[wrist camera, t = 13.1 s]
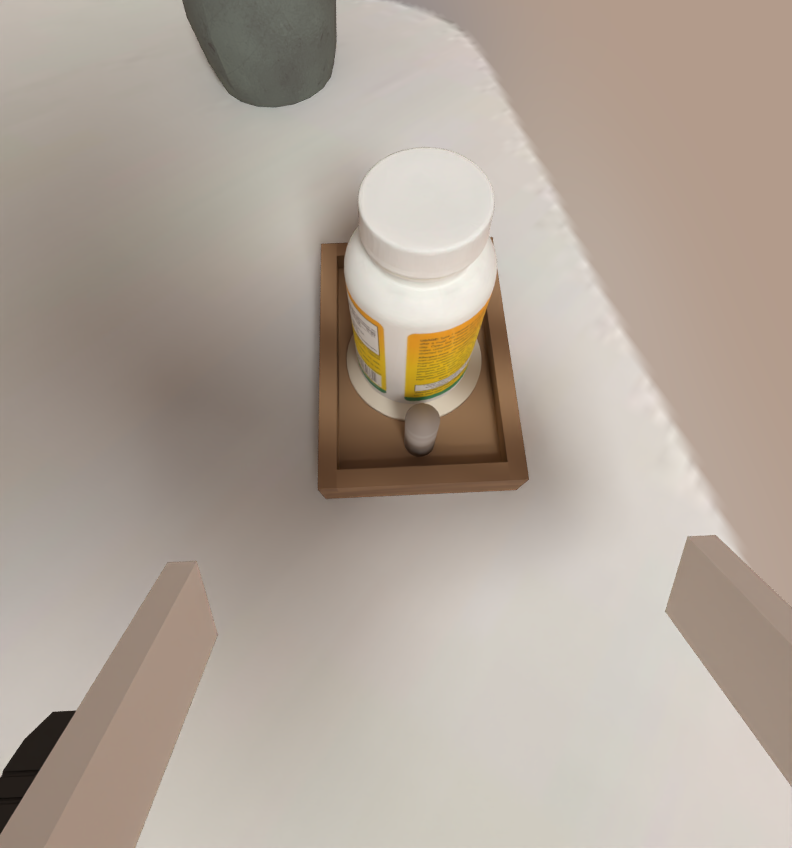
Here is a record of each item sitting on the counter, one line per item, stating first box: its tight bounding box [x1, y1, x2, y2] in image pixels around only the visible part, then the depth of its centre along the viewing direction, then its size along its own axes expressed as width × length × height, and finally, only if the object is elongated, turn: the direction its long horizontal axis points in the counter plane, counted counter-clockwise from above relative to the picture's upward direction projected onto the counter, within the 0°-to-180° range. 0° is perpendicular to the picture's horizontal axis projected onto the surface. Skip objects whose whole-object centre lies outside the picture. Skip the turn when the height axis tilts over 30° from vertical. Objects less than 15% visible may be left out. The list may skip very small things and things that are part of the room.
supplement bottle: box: [344, 147, 497, 404], centre depth 17 cm, size 5×5×10 cm
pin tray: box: [318, 237, 529, 499], centre depth 21 cm, size 13×9×4 cm
